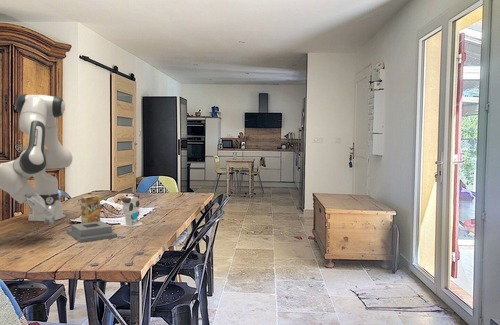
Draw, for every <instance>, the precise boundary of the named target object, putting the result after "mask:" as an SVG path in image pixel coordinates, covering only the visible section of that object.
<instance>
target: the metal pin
mask: <svg viewBox="0 0 500 325" xmlns="http://www.w3.org/2000/svg"><path fill="white" fill-rule="evenodd" d="M46 208H47V209H48V210H49V211H50V212H51V213H52V214H53V215H52V216H51V217H49V216H48V215H46V214H44V221H43V225H44V226H53V225H55V224H56V220H55V206H46Z"/></svg>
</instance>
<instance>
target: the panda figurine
mask: <svg viewBox="0 0 500 325" xmlns="http://www.w3.org/2000/svg"><path fill="white" fill-rule="evenodd" d="M122 202H123V203H122V211H123V214H124V219H125V221H124V222H122V223H120V226H121V227H127V228H128V227H129V228H130V227H133V228H134V227H139V226H142V225H143V222H141V221H139V216H140V211H139V209H140V194H139V195H137V194H132V195H131V196H127V197H122Z"/></svg>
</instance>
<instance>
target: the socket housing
mask: <svg viewBox="0 0 500 325" xmlns="http://www.w3.org/2000/svg"><path fill="white" fill-rule="evenodd" d="M112 228H113V226H112V225H110V224H108V223H106V222H104V221H101V220H100V221H98V222H90V223H82V224H81V223H75V224H71V228H69V229H66V233H67V235H69V236H71V237H72V238H74V239H75V240H77V241H78V242H79V243H81V244H82V243H87V242H94V241H102V240H108V239H115V238H118V233H116V232H114V231H113V229H112Z"/></svg>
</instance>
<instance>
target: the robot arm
mask: <svg viewBox="0 0 500 325" xmlns="http://www.w3.org/2000/svg"><path fill="white" fill-rule="evenodd" d="M15 108H16V111H17V112H18V113H19V119H18V128H19V130H20V131H21V132H22V133H24V134H25V135H28V139H27V147H26V149H25V150H23V151H22V152H21V153H20V154H19V157H18V158H16V159H14V160H13V159H12V160H10V161H7V162H0V189H1V190H2V191H3V192H6V193H8V194H9V195H10V197H11V198H12V199H14V200H15V201H17V203H18V204H20V205H22V204H25V205H28V206H29V212H30V214H28V218H27V219H28V220H27V221H29V222H44V214H46V215H48V216H49V217H51V216H52V215H53V214H52V213H51V212H50V211H49V210H48V209H47V208H46V206H55V221H57V220H60V219H63V218H66V217H67V216H66V214H63V213H64V212H63V202H61V201H60V193H59V180H58V178H57V177H55V176H54V175H52V174H49V173H47V172H46V170H47V169H48V170H49V169H53V170H54V169H64V168H69V167H70V166H71V164H72V162H73V155H72V153H71V151H70V150H68V149H67V148H65V147H64V146H63V145H62V143H61V142H60V140H59V135H58V123H57V122H58V120H57V118H59V117H62V116H63V115H64V112H65V111H66V104H65V101H64V99H63V98H62V97H60V96H57V95H55V96H54V95H53V96H52V95H47V94H27V93H26V94H24V93H23V94H20V95H18V96H17V97H16V100H15ZM45 147H46V148H45ZM31 177H33V179H34V185H35V186H33V185H32V183H31V182H29V181H28V179H30V178H31Z"/></svg>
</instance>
